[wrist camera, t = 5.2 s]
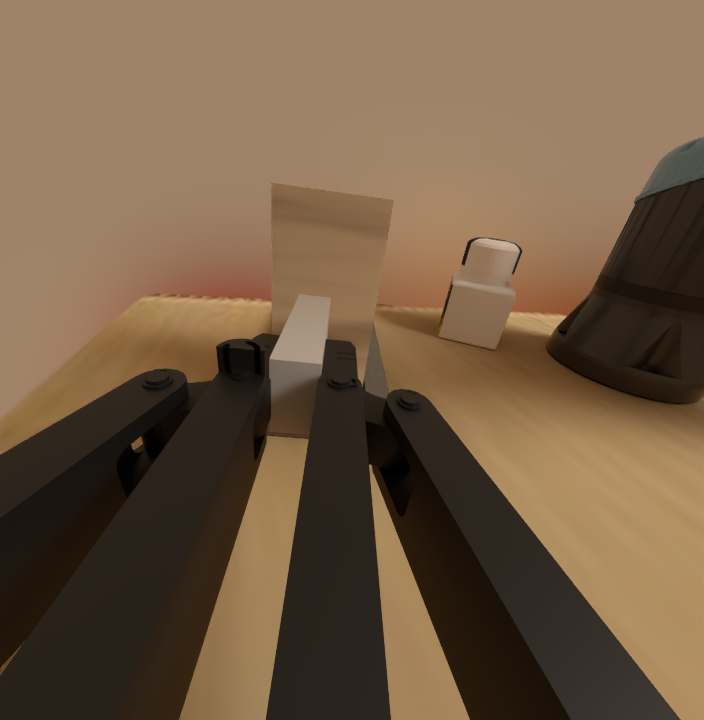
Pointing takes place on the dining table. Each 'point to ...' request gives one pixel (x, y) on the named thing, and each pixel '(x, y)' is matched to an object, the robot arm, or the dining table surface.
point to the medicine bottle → (481, 293)
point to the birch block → (329, 258)
